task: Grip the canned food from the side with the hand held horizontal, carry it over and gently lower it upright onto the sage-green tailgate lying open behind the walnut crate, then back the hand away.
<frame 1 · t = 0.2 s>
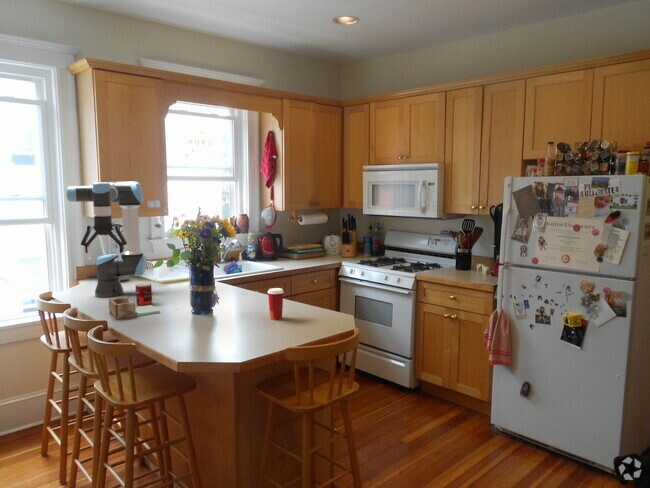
hand: (104, 259, 237), 28 cm above the kitchen counter, tool pointing down, fingers open, 13 cm apart
paper cup: (275, 318, 236), on the kitchen counter
crate: (122, 314, 242), on the kitchen counter
canned food: (144, 304, 263), on the kitchen counter
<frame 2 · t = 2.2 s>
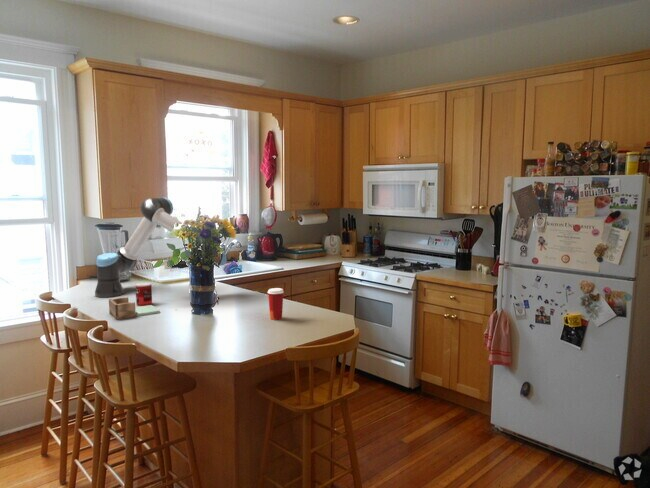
hand: (160, 265, 266), 20 cm above the kitchen counter, tool horizontal, fingers open, 13 cm apart
nothing on the kitchen counter moved.
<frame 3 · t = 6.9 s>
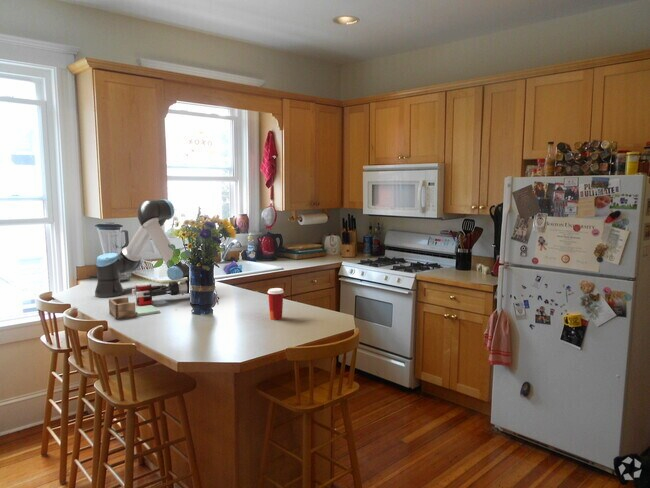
hand: (134, 293, 260), 7 cm above the kitchen counter, tool horizontal, fingers closed on canned food, 8 cm apart
canned food: (144, 304, 263), on the kitchen counter, touching gripper
everything else where it was.
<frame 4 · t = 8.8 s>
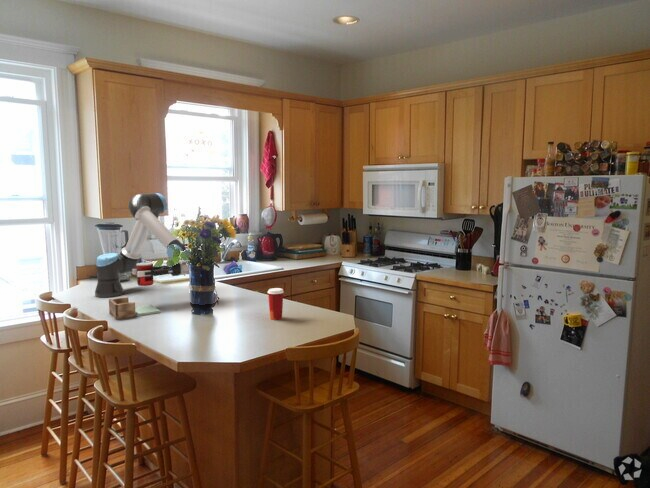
hand: (135, 273, 252), 18 cm above the kitchen counter, tool horizontal, fingers closed on canned food, 8 cm apart
canned food: (145, 284, 256), point 12 cm above the kitchen counter, touching gripper
everything else where it was.
when the fingers open (9 cm above the kitchen counter, at t = 11.1 s): canned food drops 1 cm, resting on crate.
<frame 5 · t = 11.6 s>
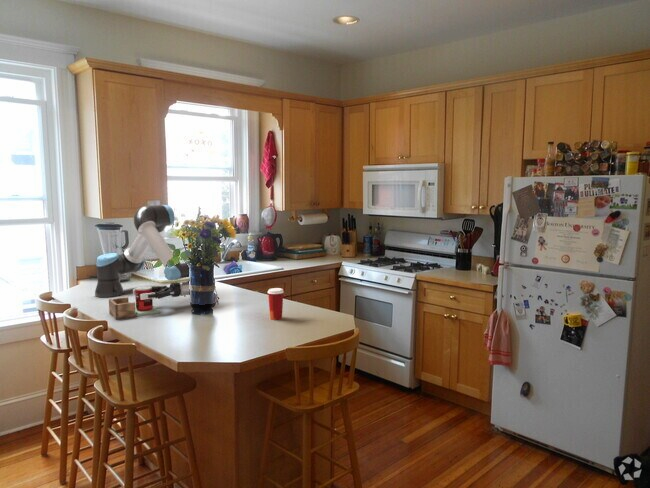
hand: (136, 294, 245), 9 cm above the kitchen counter, tool horizontal, fingers open, 13 cm apart
canned food: (144, 309, 248), point 1 cm above the kitchen counter, touching crate
everything else where it was.
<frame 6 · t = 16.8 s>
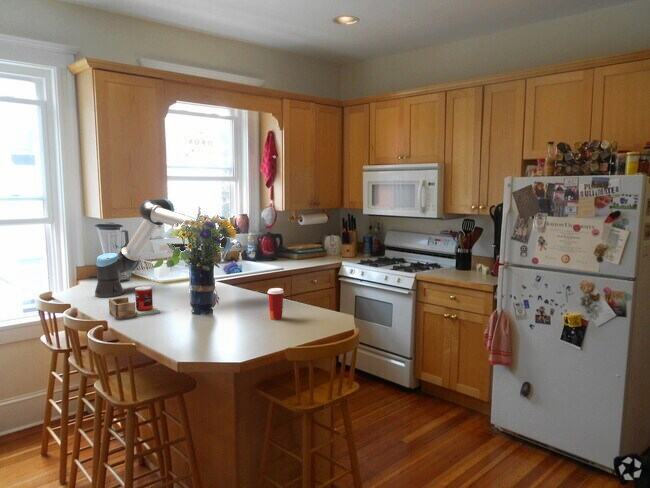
hand: (162, 249, 256), 30 cm above the kitchen counter, tool horizontal, fingers open, 13 cm apart
nothing on the kitchen counter moved.
at the end: canned food inside the target area on the crate (0.1 cm from its centre), point 1.0 cm above the crate's base; canned food tilted 0°; the gripper is holding nothing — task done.
